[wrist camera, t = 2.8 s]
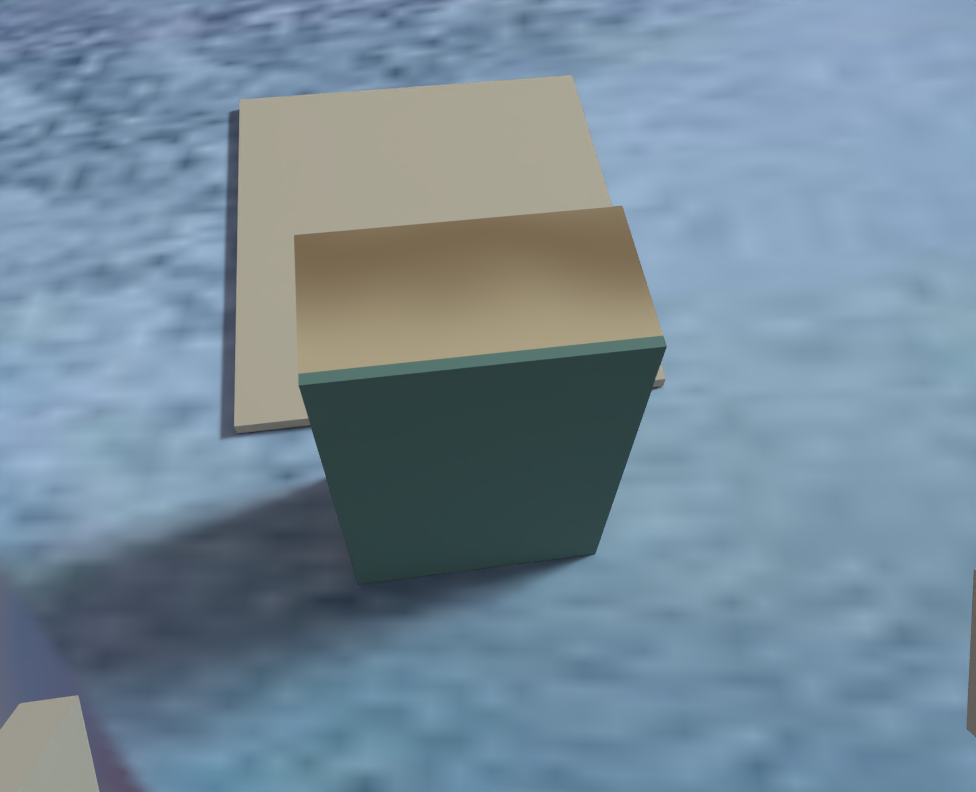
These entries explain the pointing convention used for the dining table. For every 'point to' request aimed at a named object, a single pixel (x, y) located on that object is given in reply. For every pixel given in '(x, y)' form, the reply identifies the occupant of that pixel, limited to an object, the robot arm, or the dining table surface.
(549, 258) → the green and tan block
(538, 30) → the dining table surface
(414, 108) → the mat
